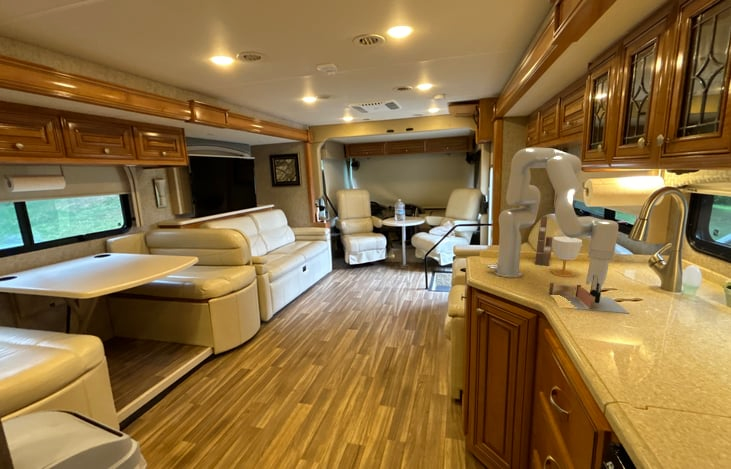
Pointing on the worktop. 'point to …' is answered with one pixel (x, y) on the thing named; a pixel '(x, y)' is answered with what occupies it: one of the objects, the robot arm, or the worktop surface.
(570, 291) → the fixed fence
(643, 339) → the worktop surface
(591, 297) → the bar
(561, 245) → the cup
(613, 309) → the card
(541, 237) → the wooden toy
